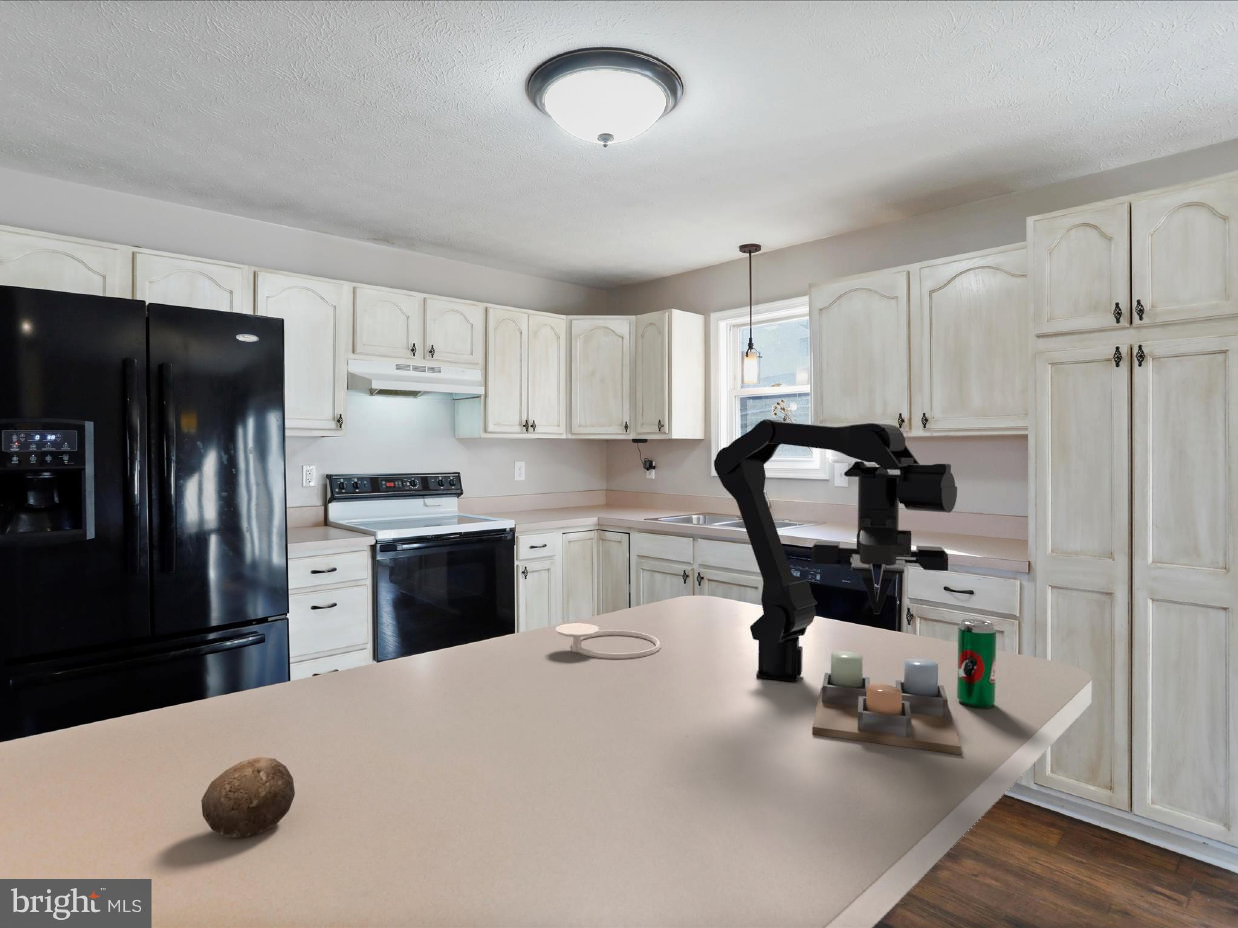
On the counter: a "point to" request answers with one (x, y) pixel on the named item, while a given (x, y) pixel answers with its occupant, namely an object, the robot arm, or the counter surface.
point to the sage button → (846, 669)
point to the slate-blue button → (921, 677)
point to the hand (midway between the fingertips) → (876, 613)
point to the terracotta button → (884, 699)
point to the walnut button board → (886, 718)
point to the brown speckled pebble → (248, 797)
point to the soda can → (976, 663)
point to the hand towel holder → (588, 631)
